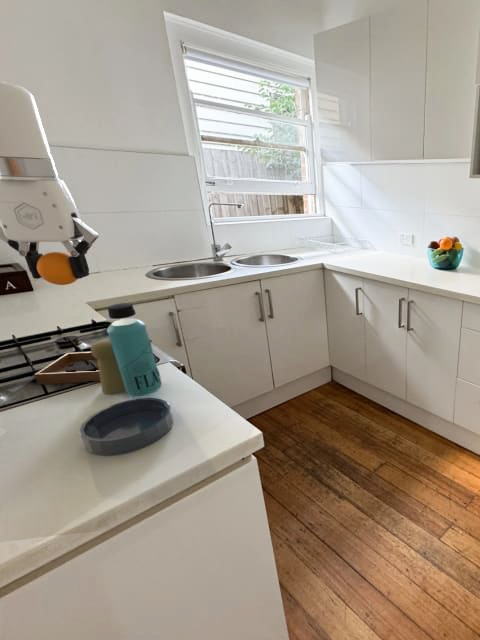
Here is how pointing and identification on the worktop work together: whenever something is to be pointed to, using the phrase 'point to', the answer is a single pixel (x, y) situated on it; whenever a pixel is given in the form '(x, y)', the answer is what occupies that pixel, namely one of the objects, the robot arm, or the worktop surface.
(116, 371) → the cork
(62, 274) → the tangerine
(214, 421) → the worktop surface
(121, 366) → the beverage bottle
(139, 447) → the dish
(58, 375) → the tray
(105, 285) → the worktop surface
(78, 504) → the worktop surface
